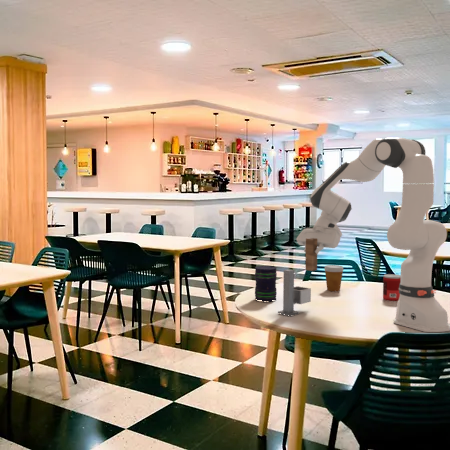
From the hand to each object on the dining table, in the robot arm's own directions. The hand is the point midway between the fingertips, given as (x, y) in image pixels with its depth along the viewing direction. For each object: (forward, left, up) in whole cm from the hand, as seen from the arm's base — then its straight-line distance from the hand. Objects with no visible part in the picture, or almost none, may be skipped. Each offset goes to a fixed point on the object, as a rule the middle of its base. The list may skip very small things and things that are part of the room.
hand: (310, 252), depth 228 cm
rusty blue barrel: (+13, +15, -23) cm, 31 cm away
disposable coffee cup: (+21, -26, -23) cm, 40 cm away
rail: (0, -1, -8) cm, 8 cm away
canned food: (-6, -40, -23) cm, 46 cm away
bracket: (-12, +14, -23) cm, 29 cm away
